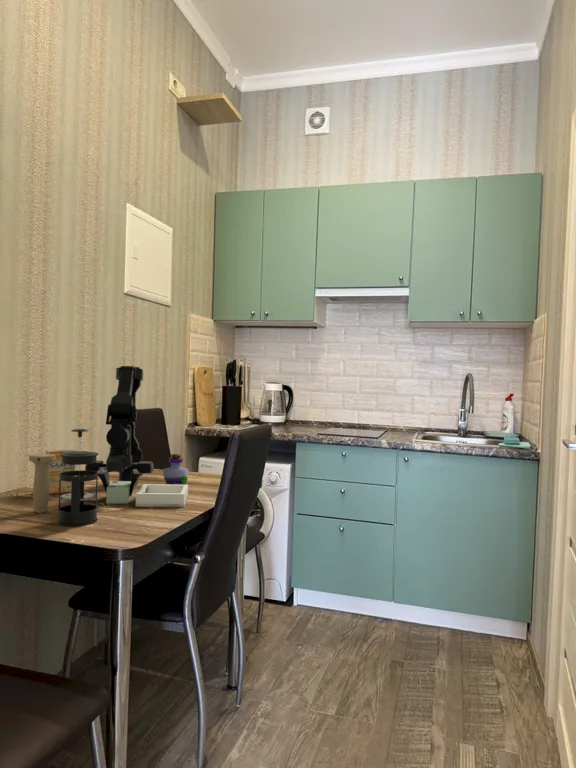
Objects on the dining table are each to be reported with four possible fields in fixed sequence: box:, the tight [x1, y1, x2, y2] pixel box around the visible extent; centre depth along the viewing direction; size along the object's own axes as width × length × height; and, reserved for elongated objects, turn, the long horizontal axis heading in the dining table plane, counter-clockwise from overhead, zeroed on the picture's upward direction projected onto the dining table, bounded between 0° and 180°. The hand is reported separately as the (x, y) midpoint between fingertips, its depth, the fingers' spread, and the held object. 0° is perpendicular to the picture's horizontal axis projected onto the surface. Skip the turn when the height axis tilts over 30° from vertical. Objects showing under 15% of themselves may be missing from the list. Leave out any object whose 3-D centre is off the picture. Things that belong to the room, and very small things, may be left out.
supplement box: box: [45, 449, 76, 495], centre depth 171 cm, size 8×5×13 cm, turn 123°
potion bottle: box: [162, 453, 190, 485], centre depth 178 cm, size 9×9×12 cm
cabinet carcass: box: [135, 483, 189, 508], centre depth 162 cm, size 14×13×4 cm
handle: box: [28, 453, 56, 514], centre depth 145 cm, size 5×6×15 cm
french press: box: [56, 428, 99, 527], centre depth 137 cm, size 12×9×23 cm
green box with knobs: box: [105, 480, 132, 504], centre depth 163 cm, size 10×6×5 cm, turn 11°
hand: (119, 496), depth 163 cm, fingers closed on green box with knobs, 6 cm apart
